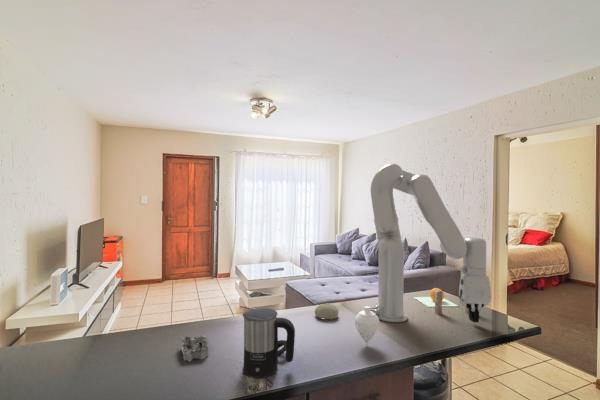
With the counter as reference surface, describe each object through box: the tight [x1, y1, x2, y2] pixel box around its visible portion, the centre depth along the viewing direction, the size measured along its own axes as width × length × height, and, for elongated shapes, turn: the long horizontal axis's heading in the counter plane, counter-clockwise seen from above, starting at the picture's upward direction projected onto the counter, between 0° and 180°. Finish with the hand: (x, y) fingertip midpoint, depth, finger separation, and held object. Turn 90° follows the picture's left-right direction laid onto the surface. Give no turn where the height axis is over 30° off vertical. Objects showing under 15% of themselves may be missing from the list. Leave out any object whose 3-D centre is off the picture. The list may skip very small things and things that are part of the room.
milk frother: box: [242, 307, 296, 379], centre depth 89 cm, size 14×16×15 cm
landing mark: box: [413, 296, 459, 308], centre depth 146 cm, size 14×14×1 cm
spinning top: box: [354, 305, 381, 346], centre depth 100 cm, size 8×8×12 cm
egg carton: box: [181, 334, 210, 362], centre depth 94 cm, size 11×8×4 cm
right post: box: [464, 306, 469, 315], centre depth 132 cm, size 3×3×9 cm
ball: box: [429, 287, 445, 301], centre depth 147 cm, size 6×6×6 cm
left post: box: [434, 290, 443, 315], centre depth 131 cm, size 3×3×9 cm
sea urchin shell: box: [314, 302, 339, 320], centre depth 125 cm, size 9×8×8 cm
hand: (473, 321), depth 118 cm, fingers closed
